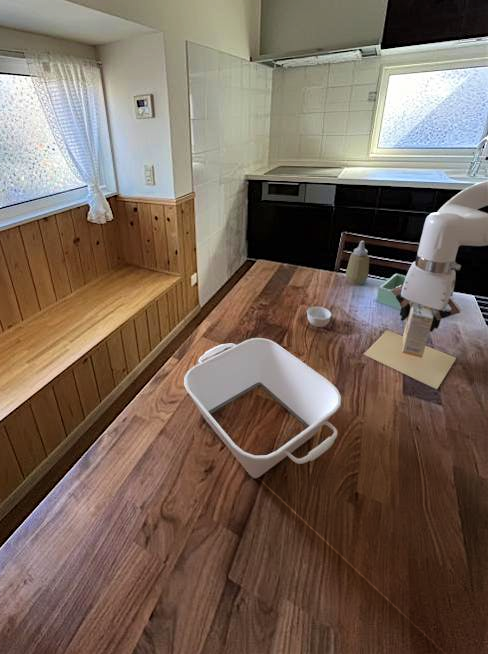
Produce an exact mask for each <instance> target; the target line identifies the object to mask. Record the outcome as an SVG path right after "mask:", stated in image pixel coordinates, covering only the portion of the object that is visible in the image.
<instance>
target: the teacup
mask: <svg viewBox="0 0 488 654" xmlns="http://www.w3.org/2000/svg"><path fill="white" fill-rule="evenodd" d="M306 313H307V314H306V315H307V320H308V322H309V324H311V325H312V326H313V327H316V328H323V327H326V326H327V325H328V324H329V323H330V321H331V319H332V312H331V310H329V309H328V308H326V307H322V306H311V307H308V309H307V310H306Z"/></svg>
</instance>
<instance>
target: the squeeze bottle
mask: <svg viewBox="0 0 488 654" xmlns="http://www.w3.org/2000/svg"><path fill="white" fill-rule="evenodd" d="M365 247H366V246H365V241H364V240H360V241H359V244H358V246H357V247H356V248H354V249H353V252H352V253H351V254H350V256H349V259H348V263H347V268H346V271H345V277H346V280H347V282H348V283H349V284H351V285H356V286H360V285H361V286H362V285H364V284H365V283H366V281H367V279H368V278H369V272H370V270H369V269H370V256H369V255H368V250H367V248H365Z"/></svg>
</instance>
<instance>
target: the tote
mask: <svg viewBox="0 0 488 654" xmlns="http://www.w3.org/2000/svg"><path fill="white" fill-rule="evenodd" d="M406 276H407V275H404V274H401V273H397V272H396V273H395V274H393V275H392V276H391V277H389V278H388V279H387V280H386V281H385V282H384V283H382V284H381V285H380V286H379V287H378V290H377V296H376V300H375V301H376V302H378V303H381V304H383V305H387V306H389V307H392V308H395V309H398V310H400V311H401V306H400V303H399V302H398V300H397V299H396V296H395V295H394V294H393V293H392V291H391V289H393V288H394V287H396V286H399V285H401V284H403V283H404V281H405V278H406ZM409 304H410V305H411V301H410V302H409Z"/></svg>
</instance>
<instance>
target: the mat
mask: <svg viewBox="0 0 488 654" xmlns="http://www.w3.org/2000/svg"><path fill="white" fill-rule="evenodd" d="M402 349H403V335H401V334H398V333H396V332H393V331H391V330H388V329H386V330H385V331H384V332H383V333H382V334H381V335H380V337H378V338H377V340H376V341H374V343H373V344H371V346H370V347H369V348H368V349H366V351H365V352H364V353H363V356H365V357H367V358H370V359H372V360H373V361H376V362H378V363H380V364H383V365H385V366H387V367H389V368H390V369H393V370H395V371H397V372H399V373H401V374H403V375H405V376H408V377H410V378H412V379H414V380H416V381H417V382H420V383H422V384H424V385H425V386H426V385H427V386H429V387H430V388H433V389H434V390H438V389H439V387H440V386H441V384H442V382H443V381H444V379H445V378H446V376H447V374H448V373H449V371H450V370H451V368H452V366H453V365H454V363H455V361H456V360H457V357H455V356H453V355H451V354H448V353H445V352H443V351H440V350H437V349H435V348H433V347H430V346H428V345H427V344H426V345H425V349H424V353H423V356H422V358H420V357H416V356H412V355H408V354H404V353H402Z"/></svg>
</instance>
